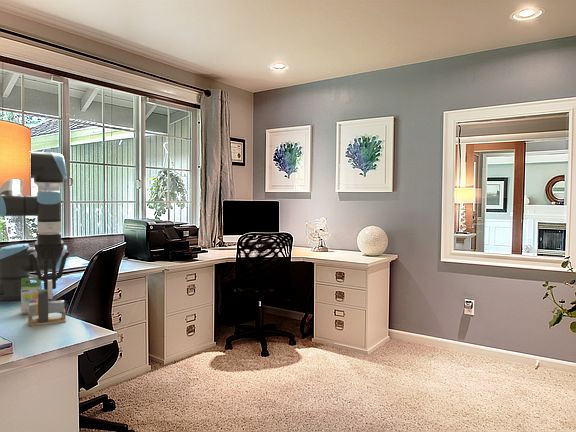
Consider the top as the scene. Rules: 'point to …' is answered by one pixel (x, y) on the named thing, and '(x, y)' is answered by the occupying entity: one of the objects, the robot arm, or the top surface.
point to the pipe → (52, 307)
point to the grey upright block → (42, 305)
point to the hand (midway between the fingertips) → (50, 298)
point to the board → (50, 320)
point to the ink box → (29, 293)
